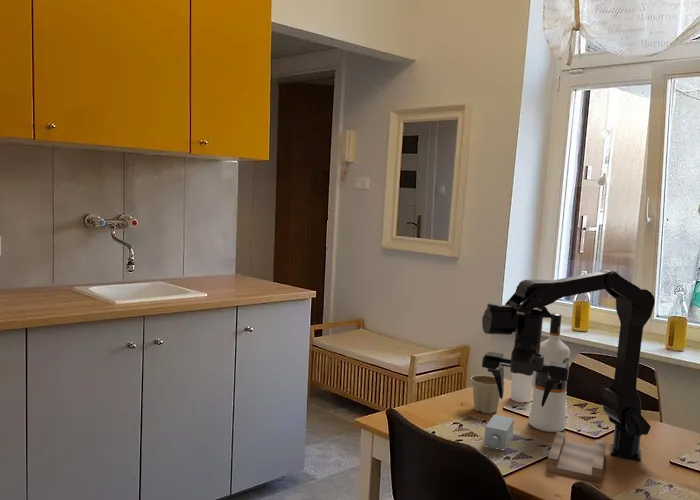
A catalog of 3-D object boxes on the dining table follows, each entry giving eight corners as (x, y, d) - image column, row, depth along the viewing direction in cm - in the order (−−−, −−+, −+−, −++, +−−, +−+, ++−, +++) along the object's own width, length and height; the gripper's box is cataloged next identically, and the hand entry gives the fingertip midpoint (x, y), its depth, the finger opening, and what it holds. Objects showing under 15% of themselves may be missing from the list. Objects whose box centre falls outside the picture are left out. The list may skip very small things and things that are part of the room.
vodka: (543, 418, 167) (553, 310, 165) (572, 430, 160) (583, 316, 157) (520, 423, 162) (530, 311, 160) (549, 435, 154) (560, 318, 152)
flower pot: (461, 406, 174) (463, 376, 173) (488, 403, 178) (490, 374, 177) (481, 417, 165) (484, 385, 165) (509, 414, 169) (512, 383, 169)
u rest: (555, 443, 149) (556, 431, 149) (604, 453, 145) (605, 441, 145) (546, 470, 133) (547, 457, 133) (601, 483, 128) (602, 469, 128)
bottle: (492, 433, 154) (494, 414, 153) (512, 438, 152) (514, 418, 151) (481, 451, 142) (482, 430, 142) (502, 456, 140) (504, 435, 140)
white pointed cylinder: (537, 360, 182) (529, 364, 178) (533, 400, 183) (525, 404, 179) (518, 356, 186) (510, 359, 182) (514, 395, 187) (506, 399, 183)
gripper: (480, 335, 136) (474, 404, 137) (569, 348, 129) (561, 420, 130) (489, 327, 147) (483, 391, 148) (571, 339, 139) (565, 406, 141)
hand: (521, 402), depth 141 cm, fingers open, 9 cm apart
